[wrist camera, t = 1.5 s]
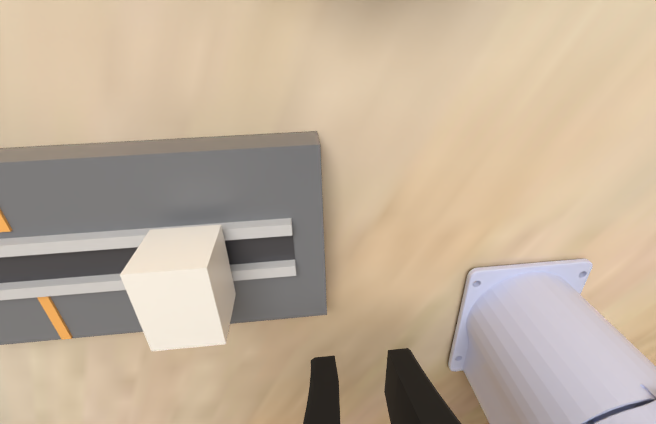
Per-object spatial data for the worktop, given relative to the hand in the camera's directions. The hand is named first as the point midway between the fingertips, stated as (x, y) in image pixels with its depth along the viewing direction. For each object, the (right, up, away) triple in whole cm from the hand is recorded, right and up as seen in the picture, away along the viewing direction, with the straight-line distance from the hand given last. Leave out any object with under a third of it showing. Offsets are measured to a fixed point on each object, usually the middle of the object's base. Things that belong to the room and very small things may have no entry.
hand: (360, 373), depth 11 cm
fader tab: (-7, +3, +6) cm, 10 cm away
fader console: (-11, +4, +7) cm, 14 cm away
